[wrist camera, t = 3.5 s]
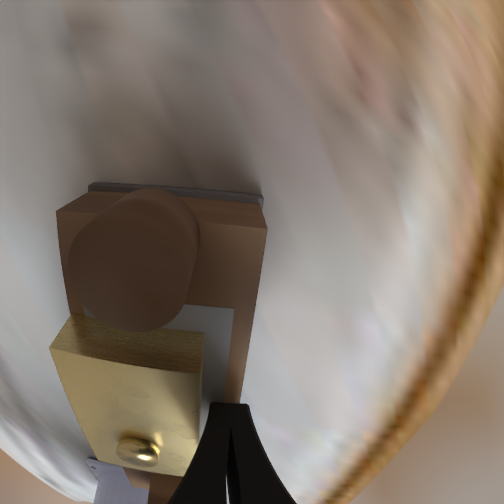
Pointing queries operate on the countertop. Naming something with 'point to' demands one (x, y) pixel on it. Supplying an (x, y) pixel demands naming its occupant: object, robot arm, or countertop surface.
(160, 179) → the countertop surface
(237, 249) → the body
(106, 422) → the lever cap
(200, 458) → the robot arm
